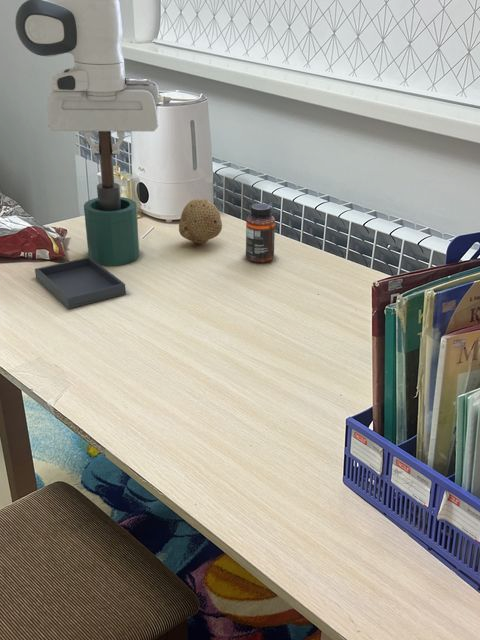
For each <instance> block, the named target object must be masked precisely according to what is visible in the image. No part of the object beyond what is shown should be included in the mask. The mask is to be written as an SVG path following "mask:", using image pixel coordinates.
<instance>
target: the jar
mask: <svg viewBox="0 0 480 640" xmlns="http://www.w3.org/2000/svg"><path fill="white" fill-rule="evenodd" d="M120 200H121V210H117V211H101V210H99V208H98V197H95V198H92V199H90V200H87V201H86V202H85V203H84V204H83V212H84V222H85V233H86V242H87V253H88V257H90V258H92V259H93V260H94V261H96V262H97V263H98V264H100V265H101V266H107V267H108V266H110V267H111V266H114V267H115V266H123V265H127V264H131V263H133V262H135V261H136V260H138V259H139V257H140V244H139V243H140V242H139V241H140V239H139V226H138V224H139V223H138V206H137V202H136V201H135V200H133V199H131V198H127V197H124V196H120Z"/></svg>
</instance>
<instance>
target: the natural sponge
mask: <svg viewBox="0 0 480 640" xmlns="http://www.w3.org/2000/svg"><path fill="white" fill-rule="evenodd" d="M222 230H223V222H222V219H221V214H220V211H219V209H218V208H217V206H216V205H215V204H214V203H212V201H210V200H208V199H207V198H194V199H191V200H190V201H189V202H187V203H186V204H185V206H184V208H183V210H182V212H181V215H180V219H179V224H178V232H179V234H180V236H181V237H182V238H184V239H186V240H188V241H190V242H192V243H194V244H198V245H203V244H206V243H207V242H208V241H209V240H211V239H215V238H216V237H217V236H219V235H220V233H221V231H222Z"/></svg>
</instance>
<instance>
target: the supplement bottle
mask: <svg viewBox="0 0 480 640" xmlns="http://www.w3.org/2000/svg"><path fill="white" fill-rule="evenodd" d="M271 210H272V206H271V205H270V204H268V203H261V202H259V203H258V202H257V203H253V204H252V205H251V207H250V214H248V215H247V217H246V221H245V223H246V224H245V257H246V260H248V261H250V262H252V263H253V262H254V263H259V264H260V263H261V264H262V263H268V262H271V261H272V260H273V259H274V258H275V239H276V236H275V234H276V219H275V217H274V216H273V215H272V211H271Z"/></svg>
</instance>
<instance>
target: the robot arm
mask: <svg viewBox="0 0 480 640" xmlns="http://www.w3.org/2000/svg"><path fill="white" fill-rule="evenodd" d="M121 9H122V8H121V3H120V0H26V1H24V2H23V3H21V5H20V6H19V8H18V9H17V11H16V14H15V23H14V24H15V30H16V33H17V34H16V35H17V37H18V39H19V40H20V42H21V44H22V45H23V46H24V47H25V49H27V51H29V52H31V53H32V54H34V55H37V56H41V57H45V58H46V57H47V58H50V57H56V56H59V55H64V54H71V55H72V56H73V63H74V66H73V67H69V68H66V69H63V70H60V71H56V72H55V73H53V74H52V75H51V77H50V79H49V81H50V87H51V91H50V93H49V95H48V98H47V107H46V121H47V127H48V128H49V129H50V130H51V131H53V132H83V136H84V139H85V140H86V142H87V143H88V144H89V146H90V148H91V155H92V156H100V151H99V143H95V141H94V140H93V138H92V137H93V132H98V131H111V132H116V137H117V138H118V139H117V141H116V142H115V143H112V155H113V156H120V155H121V148H120V147H121V145H122V143H123V141H124V139H125V137H126V135H125V133H126V132H156V130H157V129H158V127H159V120H158V113H157V112H158V111H157V105H156V104H157V103H158V101H159V99H160V93H159V92H160V91H159V87H158V85H157V84H156V82H154V81H152V80H151V79H149V78H141V79H140V78H131V77H129V78H127V77H126V70H125V68H126V67H125V56H124V54H123V50H122V41H123V37H124V36H123V35H124V30H123V19H122V17H123V16H122V10H121Z"/></svg>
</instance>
